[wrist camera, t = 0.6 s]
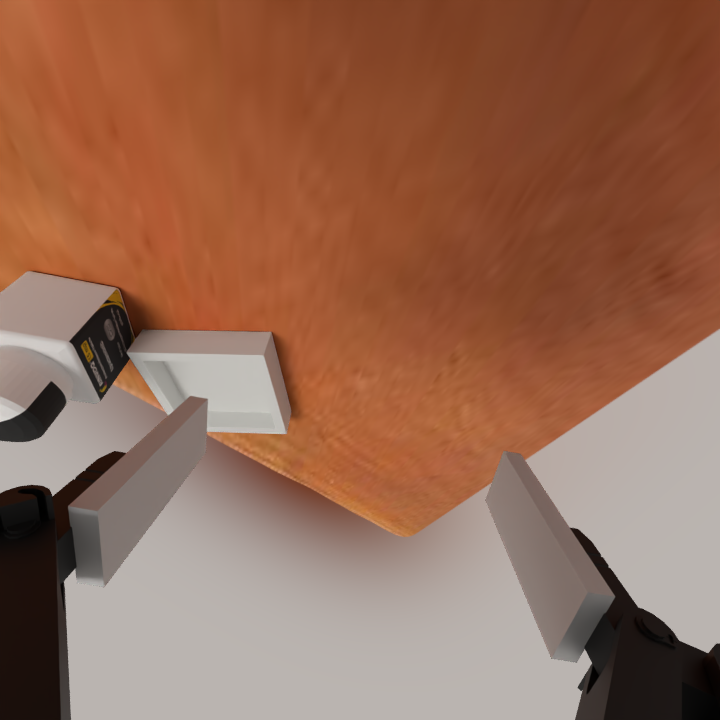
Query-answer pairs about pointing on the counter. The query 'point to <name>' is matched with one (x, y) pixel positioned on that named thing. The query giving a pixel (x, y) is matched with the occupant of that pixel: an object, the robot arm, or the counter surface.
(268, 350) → the grey square tray
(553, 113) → the counter surface
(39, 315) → the medicine bottle
